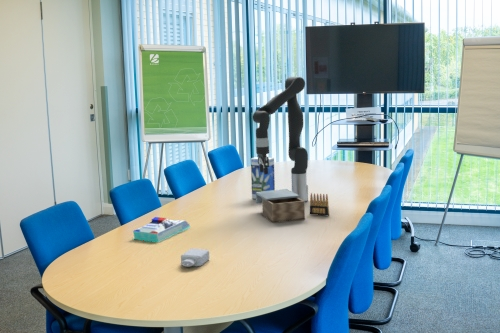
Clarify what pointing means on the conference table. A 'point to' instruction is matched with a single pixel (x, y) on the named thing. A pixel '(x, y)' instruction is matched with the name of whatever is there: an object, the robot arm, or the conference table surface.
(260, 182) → the string lights box
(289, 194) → the box lid
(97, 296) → the conference table surface
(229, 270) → the conference table surface
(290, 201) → the walnut box
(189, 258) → the charger
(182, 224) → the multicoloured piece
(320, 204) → the ammunition clip
